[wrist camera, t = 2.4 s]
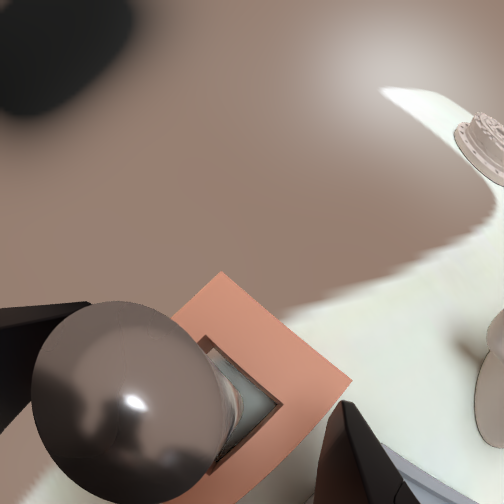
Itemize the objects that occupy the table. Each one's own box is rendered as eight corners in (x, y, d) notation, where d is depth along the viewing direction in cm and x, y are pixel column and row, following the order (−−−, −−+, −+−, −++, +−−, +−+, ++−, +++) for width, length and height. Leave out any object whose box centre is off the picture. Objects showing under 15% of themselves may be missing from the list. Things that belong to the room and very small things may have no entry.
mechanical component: (494, 195, 22) (522, 182, 24) (515, 168, 18) (538, 160, 20) (439, 131, 26) (476, 129, 28) (452, 102, 23) (488, 106, 24)
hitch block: (206, 511, 10) (197, 531, 8) (104, 408, 13) (76, 406, 10) (334, 385, 14) (352, 380, 11) (225, 293, 17) (221, 270, 14)
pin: (215, 443, 12) (121, 536, 2) (174, 404, 13) (7, 380, 3) (255, 405, 14) (274, 412, 3) (213, 367, 15) (123, 262, 4)
